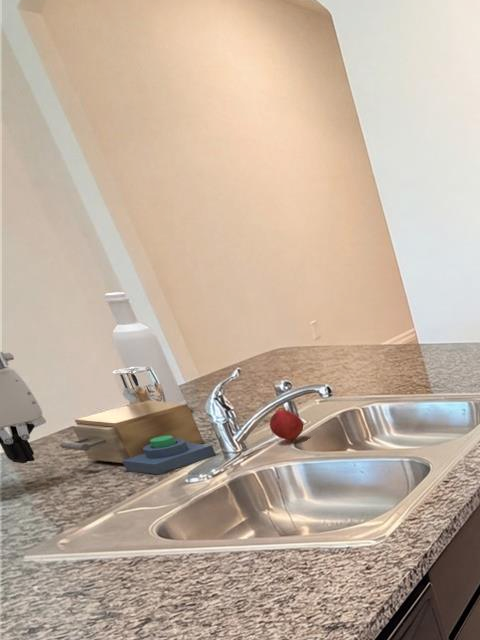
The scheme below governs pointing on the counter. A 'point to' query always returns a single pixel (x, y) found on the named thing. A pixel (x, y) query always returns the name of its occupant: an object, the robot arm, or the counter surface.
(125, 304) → the bottle
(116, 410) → the cabinet
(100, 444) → the drawer
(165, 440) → the button
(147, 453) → the block
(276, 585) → the counter surface
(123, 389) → the beer glass
